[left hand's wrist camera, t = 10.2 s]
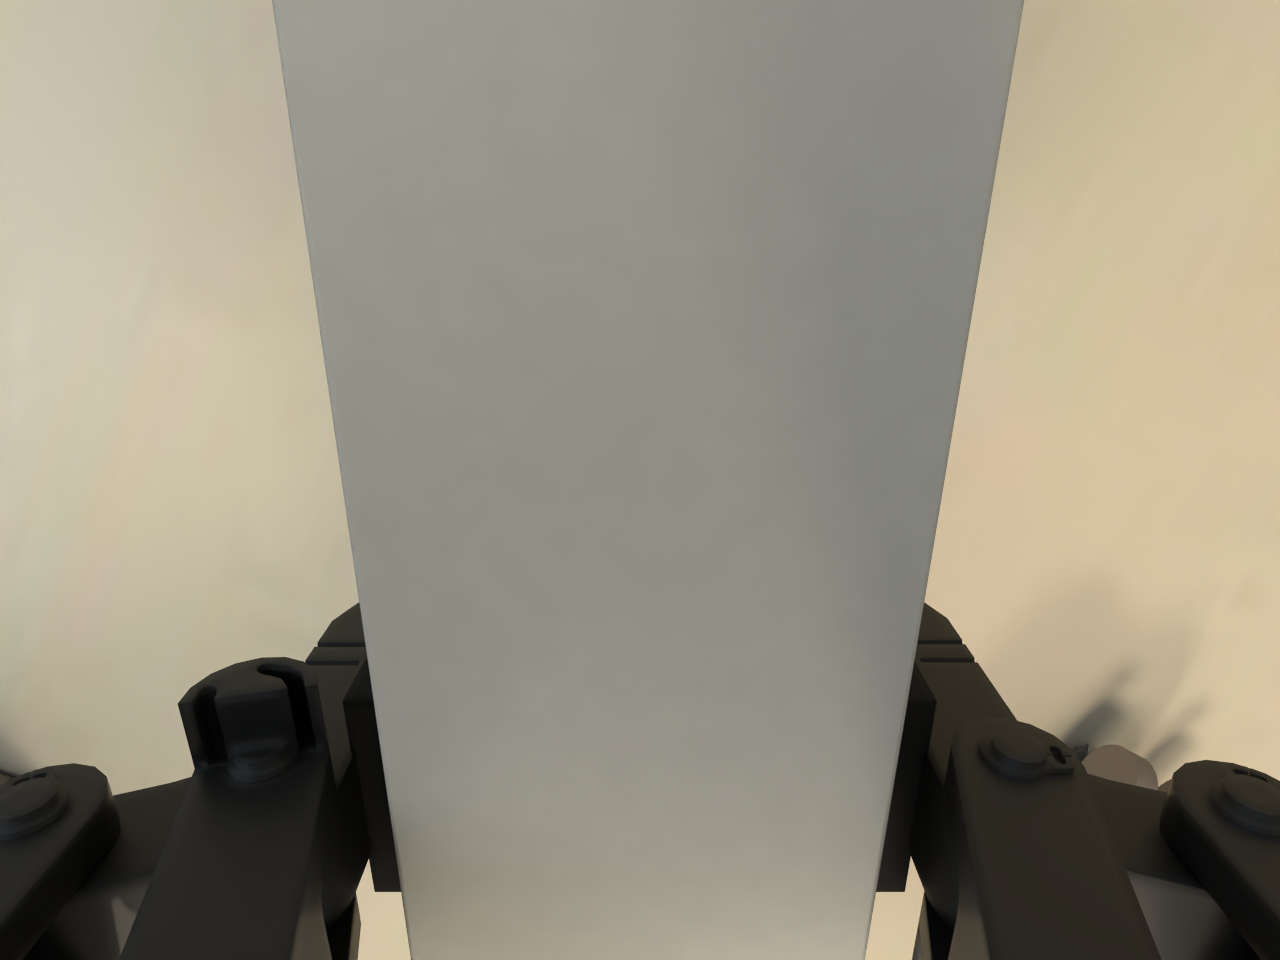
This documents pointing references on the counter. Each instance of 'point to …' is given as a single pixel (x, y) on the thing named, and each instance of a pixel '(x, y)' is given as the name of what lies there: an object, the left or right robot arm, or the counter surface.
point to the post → (643, 440)
